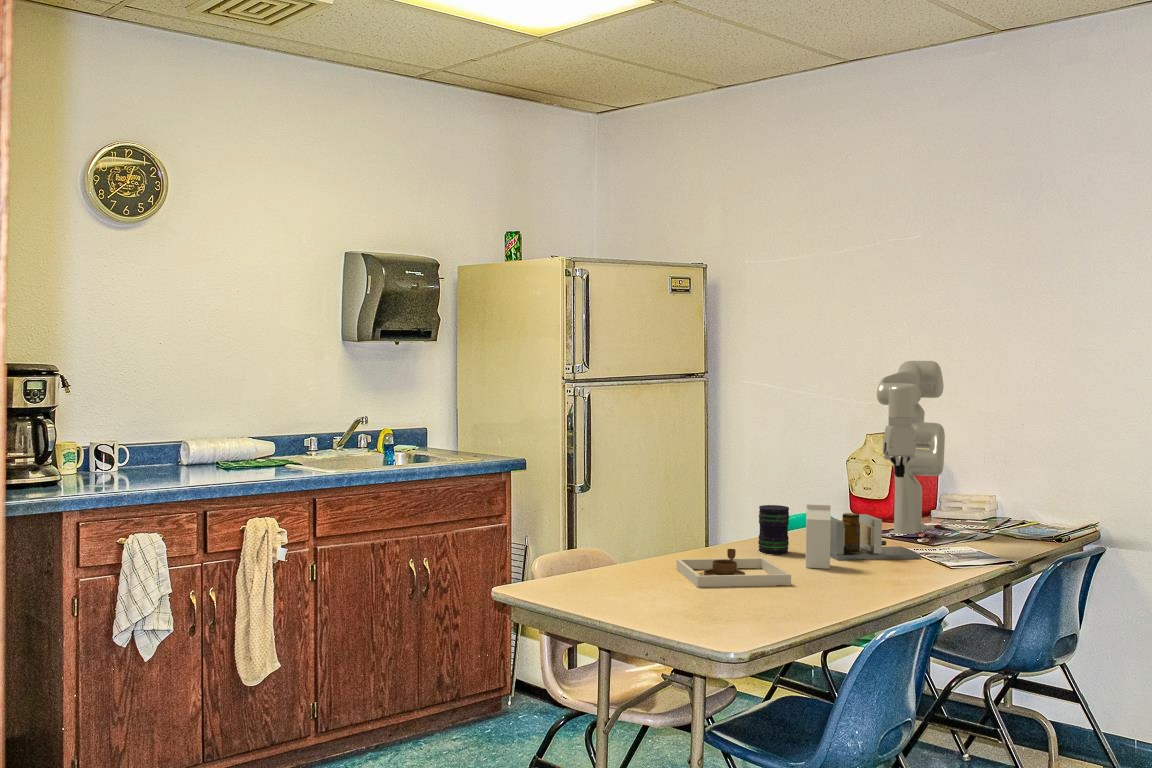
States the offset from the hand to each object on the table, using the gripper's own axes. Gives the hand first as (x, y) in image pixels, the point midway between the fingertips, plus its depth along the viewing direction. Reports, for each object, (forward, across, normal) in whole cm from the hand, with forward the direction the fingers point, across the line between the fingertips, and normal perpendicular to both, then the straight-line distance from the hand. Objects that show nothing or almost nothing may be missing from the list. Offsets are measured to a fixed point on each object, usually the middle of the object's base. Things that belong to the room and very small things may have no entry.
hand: (899, 476), depth 354 cm
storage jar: (+24, +44, +2) cm, 50 cm away
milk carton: (+23, +38, +26) cm, 51 cm away
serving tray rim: (+22, +69, +38) cm, 82 cm away
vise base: (+24, +14, +10) cm, 29 cm away
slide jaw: (+22, +13, +10) cm, 27 cm away
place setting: (+22, +69, +39) cm, 82 cm away
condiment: (+23, +21, +10) cm, 32 cm away
